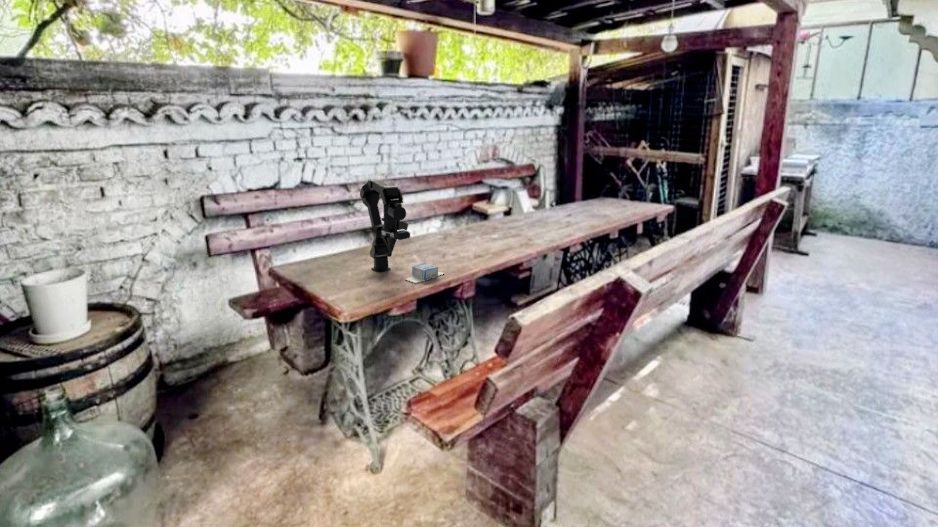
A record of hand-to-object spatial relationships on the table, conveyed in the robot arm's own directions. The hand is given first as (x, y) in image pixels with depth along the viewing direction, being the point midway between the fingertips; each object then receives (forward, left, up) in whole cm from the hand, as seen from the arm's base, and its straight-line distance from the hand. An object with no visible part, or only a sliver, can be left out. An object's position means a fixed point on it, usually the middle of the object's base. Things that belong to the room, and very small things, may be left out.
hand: (391, 251), depth 220 cm
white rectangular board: (+10, +11, -12) cm, 19 cm away
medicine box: (+5, +11, -9) cm, 15 cm away
